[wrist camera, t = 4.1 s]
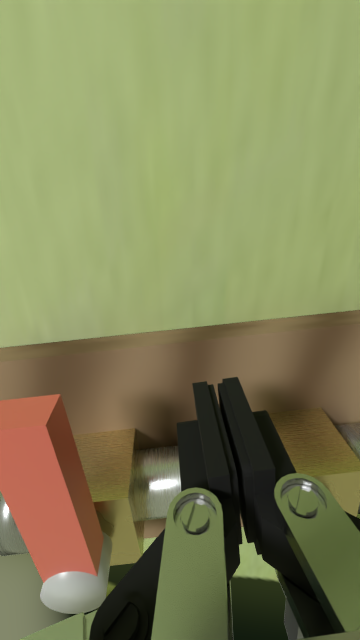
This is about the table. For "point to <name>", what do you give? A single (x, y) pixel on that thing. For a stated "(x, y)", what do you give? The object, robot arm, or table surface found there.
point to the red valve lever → (53, 503)
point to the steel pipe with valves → (164, 481)
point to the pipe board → (192, 375)
